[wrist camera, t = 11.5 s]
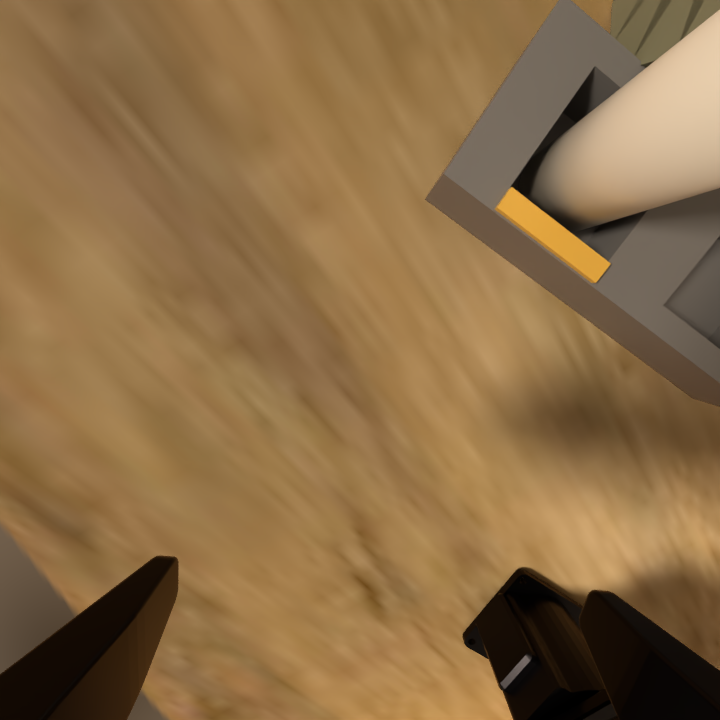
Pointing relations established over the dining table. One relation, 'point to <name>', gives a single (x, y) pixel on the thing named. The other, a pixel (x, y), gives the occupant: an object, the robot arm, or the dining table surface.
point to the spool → (657, 24)
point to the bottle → (638, 142)
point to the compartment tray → (598, 243)
